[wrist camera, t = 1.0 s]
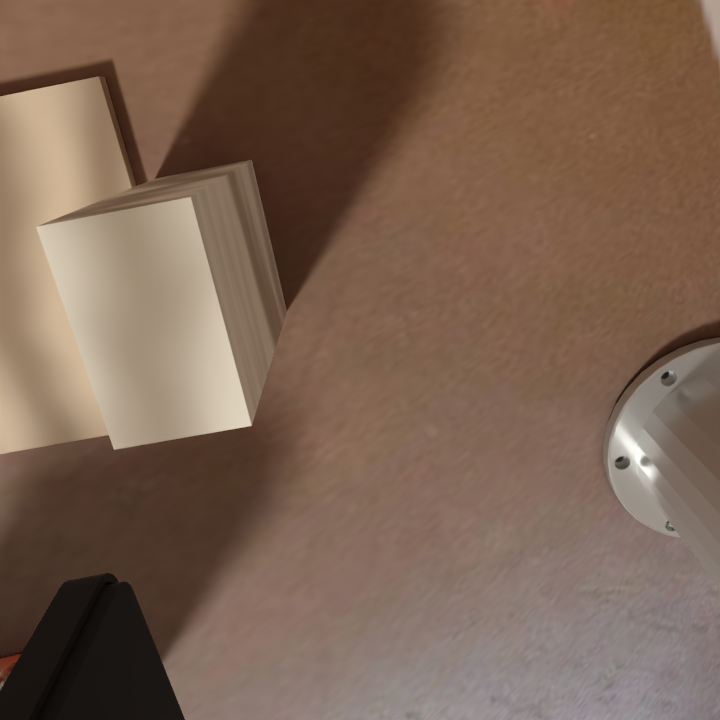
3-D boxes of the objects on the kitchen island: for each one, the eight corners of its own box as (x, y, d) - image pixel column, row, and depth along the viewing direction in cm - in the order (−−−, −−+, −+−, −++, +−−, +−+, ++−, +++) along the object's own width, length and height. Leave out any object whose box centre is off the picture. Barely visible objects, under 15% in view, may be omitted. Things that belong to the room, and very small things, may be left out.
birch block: (251, 159, 34) (190, 196, 21) (286, 311, 37) (251, 425, 24) (155, 178, 35) (35, 227, 22) (196, 327, 38) (113, 449, 24)
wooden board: (104, 76, 33) (98, 76, 32) (202, 412, 39) (199, 418, 39) (-191, 136, 34) (-203, 137, 33) (-49, 456, 40) (-56, 463, 39)
